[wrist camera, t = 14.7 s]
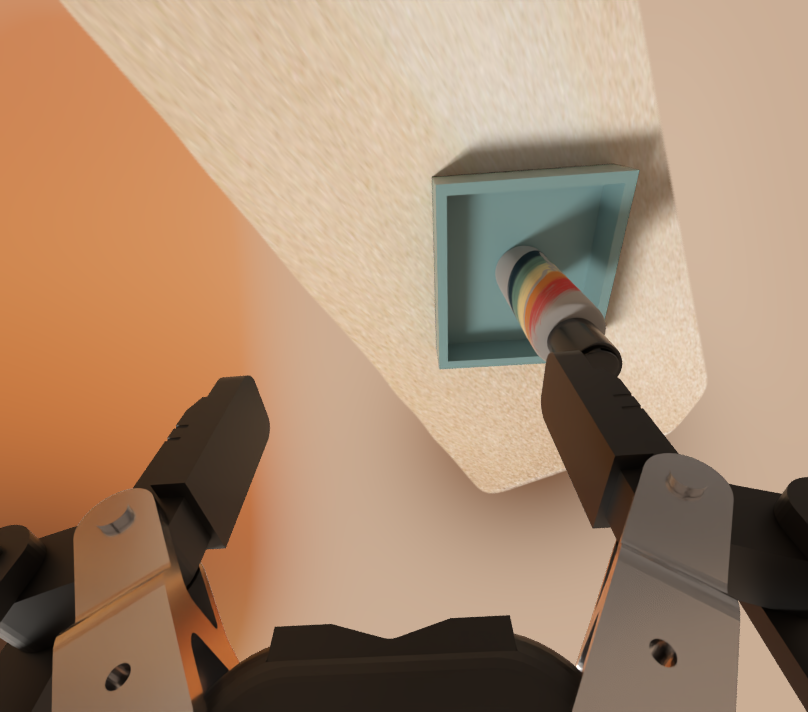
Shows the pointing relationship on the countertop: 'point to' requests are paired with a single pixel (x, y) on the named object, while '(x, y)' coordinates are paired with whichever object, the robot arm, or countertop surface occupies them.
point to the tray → (511, 227)
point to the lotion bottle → (554, 309)
